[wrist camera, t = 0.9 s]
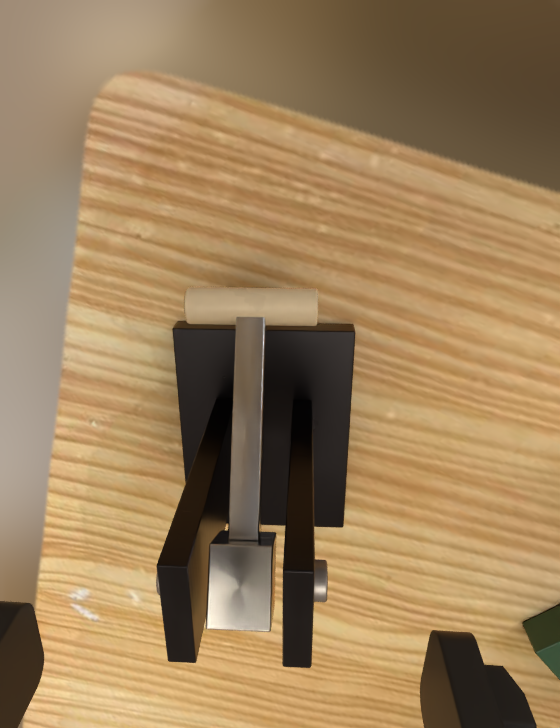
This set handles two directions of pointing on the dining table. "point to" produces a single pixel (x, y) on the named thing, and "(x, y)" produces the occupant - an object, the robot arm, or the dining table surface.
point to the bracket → (280, 469)
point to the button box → (546, 637)
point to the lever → (246, 450)
